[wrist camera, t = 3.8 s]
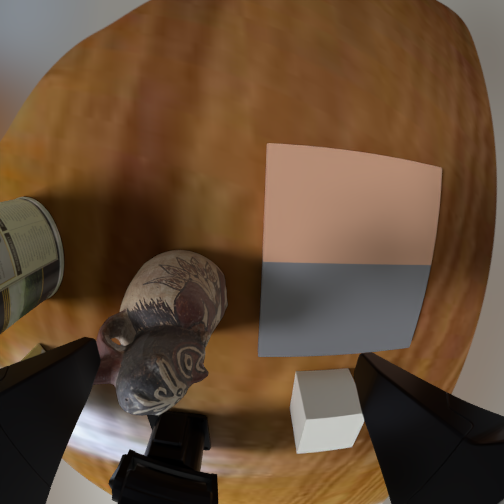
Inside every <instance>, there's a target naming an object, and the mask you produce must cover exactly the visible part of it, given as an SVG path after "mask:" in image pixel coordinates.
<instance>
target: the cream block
mask: <svg viewBox="0 0 504 504" xmlns="http://www.w3.org/2000/svg"><path fill="white" fill-rule="evenodd" d="M290 412H291V418H292V425H293V431H294V438H295V444H296V451H297V454H298V453H310V452H320V451H328V450H336V449H343V448H349V447H352V446H353V444H354V442H355V440H356V438H357V436H358V434H359V431H360V429H361V427H362V425H363V423H364V421H365V420H364V418H363V414H362V411H361V407H360V402H359V398H358V393H357V389H356V385H355V382H354V380H353V378H352V375H351V373H350V371H349V369H348V368H345V369H333V370H317V371H296V374H295V380H294V386H293V392H292V398H291V404H290Z"/></svg>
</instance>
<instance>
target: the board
mask: <svg viewBox="0 0 504 504" xmlns="http://www.w3.org/2000/svg"><path fill="white" fill-rule="evenodd" d="M441 181H442V168H440V167H436V166H432V165H428V164H423V163H419V162H414V161H409V160H404V159H399V158H394V157H388V156H382V155H376V154H370V153H363V152H356V151H349V150H341V149H333V148H324V147H314V146H303V145H290V144H273V143H267V151H266V180H265V207H264V232H263V255H262V277H261V299H260V319H259V338H258V357H296V356H324V355H341V354H354V353H366V352H376V351H385V350H393V349H401V348H408V347H410V344H411V341H412V337H413V334H414V331H415V328H416V324H417V321H418V318H419V314H420V310H421V307H422V303H423V299H424V295H425V291H426V286H427V282H428V277H429V273H430V268H431V263H432V257H433V251H434V245H435V239H436V232H437V225H438V216H439V207H440V196H441Z"/></svg>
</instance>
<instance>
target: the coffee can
mask: <svg viewBox="0 0 504 504" xmlns="http://www.w3.org/2000/svg"><path fill="white" fill-rule="evenodd" d="M63 272H64V252H63V246H62V241H61V238H60V234H59V232H58V229H57V226H56V224H55V222H54V220H53V218H52V217H51V215H50V213H49V212H48V211H47V210H46V209H45V208H44V206H43V205H42V204H41V203H39V202H38V201H36V200H35V199H32V198H29V197H20V198H17V199H14V200H9V201H5V202H0V334H1V333H2V332H4V331H5V330H6V329H7V328H9V327H10V326H11V325H12V324H14V323H15V322H16V321H18V320H19V319H20V318H21V317H23V316H24V315H25V314H27V313H28V312H29V311H31V310H32V309H33V308H35V307H36V306H37V305H39V304H40V303H41V302H43V301H44V300H46V299H48V298H50V297H51V296H53V295H54V294H55V293H56V291H57V290H58V288H59V286H60V284H61V281H62V277H63Z"/></svg>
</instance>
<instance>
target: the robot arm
mask: <svg viewBox="0 0 504 504" xmlns="http://www.w3.org/2000/svg"><path fill="white" fill-rule="evenodd" d="M100 363H101V358H100V354H99V350H98V346H97V342H96V340H95V339H93V338H88V337H83V338H81V339H78V340H75V341H73V342H70V343H68V344H65V345H62V346H60V347H57V348H55V349H52V350H49V351H47V352H44V353H41V354H39V355H36V356H33V357H31V358H28V359H25V360H23V361H20V362H17V363H15V364H12V365H10V366H6V367H4V368H1V369H0V504H46V501H47V498H48V495H49V491H50V489H51V488H50V487H51V485H52V483H53V480H54V477H55V474H56V472H57V469H58V466H59V464H60V461H61V459H62V456H63V454H64V451H65V449H66V446H67V444H68V442H69V439H70V437H71V434H72V432H73V430H74V428H75V425H76V423H77V421H78V419H79V416H80V414H81V412H82V410H83V408H84V406H85V403H86V401H87V399H88V397H89V394H90V391H91V389H92V386H93V383H94V380H95V377H96V374H97V372H98V369H99V366H100ZM354 380H355V385H356V389H357V393H358V398H359V402H360V407H361V411H362V414H363V418H364V420H365V423H366V426H367V429H368V432H369V435H370V438H371V441H372V444H373V447H374V450H375V453H376V456H377V459H378V462H379V465H380V468H381V471H382V474H383V478H384V481H385V484H386V487H387V491H388V494H389V497H390V501H391V504H504V416H501V415H499V414H496V413H493V412H490V411H488V410H485V409H483V408H480V407H478V406H475V405H473V404H470V403H468V402H466V401H464V400H461V399H459V398H457V397H455V396H453V395H451V394H449V393H446V392H445V391H443V390H441V389H440V388H438V387H436V386H434V385H432V384H430V383H428V382H426V381H424V380H422V379H420V378H418V377H417V376H415V375H413V374H411V373H409V372H407V371H405V370H403V369H402V368H400V367H398V366H396V365H394V364H392V363H390V362H389V361H387V360H385V359H383V358H381V357H379V356H378V355H376V354H374V353H372V352H368V353H361V354H360V355H359V357H358V361H357V364H356V368H355V371H354ZM147 416H148V419H149V422H150V425H151V428H152V433H151V436H150V439H149V442H148V446H147V449H146V452H145V455H142V454H139V453H136V452H135V451H133V450H129V452H128V454H127V455H126V454H125V455H122V458H121V461H120V463H119V466H118V467H117V469H116V471H115V472H114V474H113V475H112V477H111V478H110V480H109V486H110V487H111V489H112V500H113V501H115V502H118V504H218V483H217V474H213V473H211V474H209V473H204V472H200V469H201V462H202V455H203V450H210V448H211V444H210V436H209V428H208V420H207V417H206V416H204V415H197V414H187V413H179V412H171V411H166V412H164V413H162V414H160V415H147Z"/></svg>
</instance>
